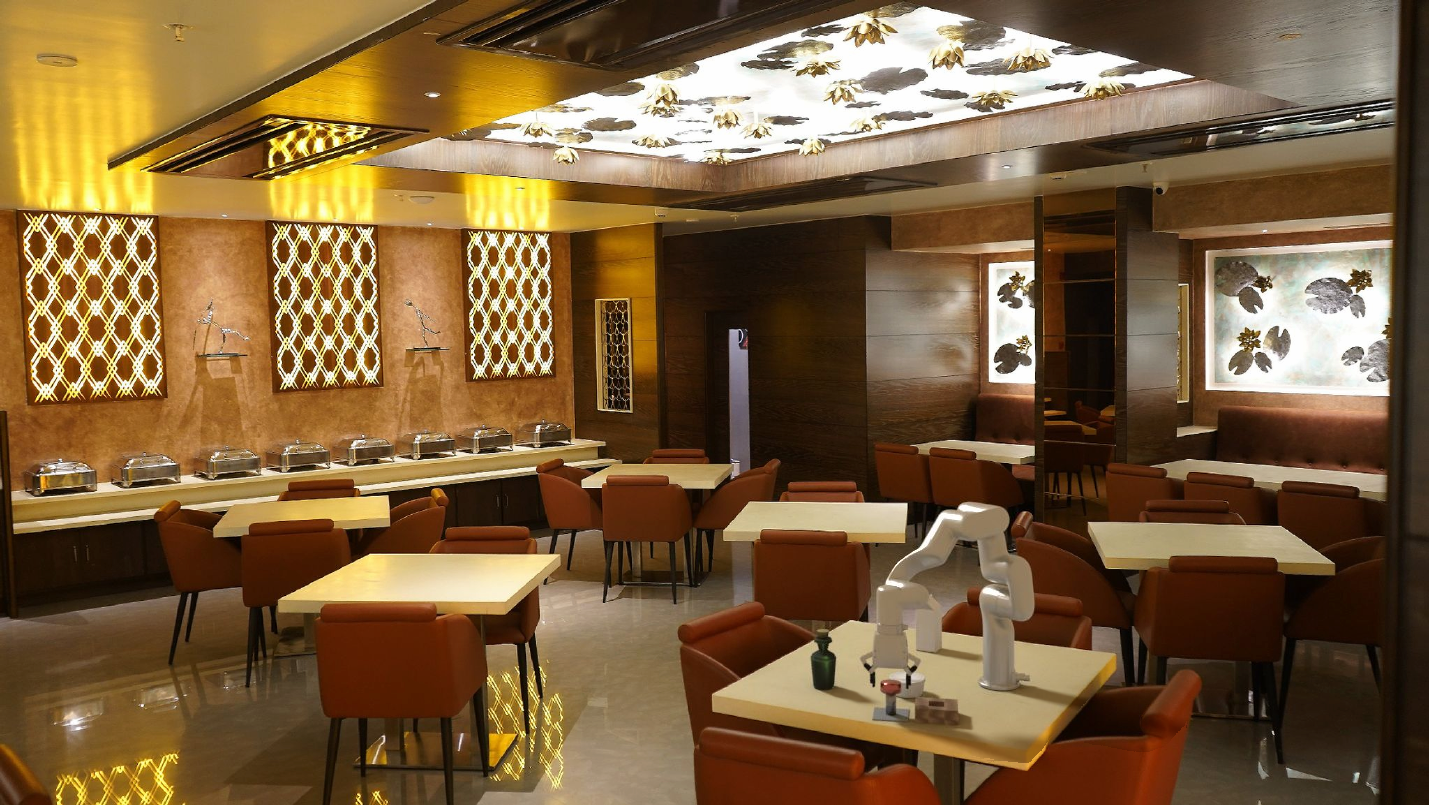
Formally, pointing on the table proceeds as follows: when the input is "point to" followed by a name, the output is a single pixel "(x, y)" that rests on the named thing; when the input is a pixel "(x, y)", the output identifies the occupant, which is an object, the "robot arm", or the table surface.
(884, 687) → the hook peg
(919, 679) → the ramekin
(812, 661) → the potion bottle
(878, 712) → the slate mat
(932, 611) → the milk carton
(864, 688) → the table surface
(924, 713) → the eye block
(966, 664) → the table surface
